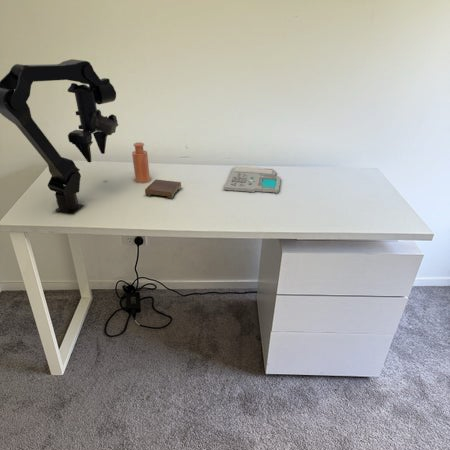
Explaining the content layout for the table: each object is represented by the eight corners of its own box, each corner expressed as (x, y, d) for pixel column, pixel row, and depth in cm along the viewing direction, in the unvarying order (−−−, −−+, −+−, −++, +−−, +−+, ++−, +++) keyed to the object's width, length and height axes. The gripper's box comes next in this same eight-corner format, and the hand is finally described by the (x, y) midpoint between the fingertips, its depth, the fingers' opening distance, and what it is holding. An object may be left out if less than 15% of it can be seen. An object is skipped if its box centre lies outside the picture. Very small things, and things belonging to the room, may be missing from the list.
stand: (172, 199, 135) (171, 192, 134) (145, 196, 137) (144, 189, 136) (181, 188, 143) (180, 182, 141) (156, 185, 145) (155, 179, 143)
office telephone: (233, 163, 159) (281, 166, 157) (233, 169, 160) (281, 173, 158) (224, 183, 141) (279, 187, 138) (224, 190, 142) (278, 194, 140)
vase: (150, 182, 147) (146, 145, 139) (135, 183, 146) (131, 146, 138) (149, 177, 152) (146, 141, 143) (135, 177, 151) (130, 142, 142)
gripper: (95, 115, 111) (105, 169, 121) (123, 102, 125) (130, 151, 135) (61, 113, 113) (73, 166, 123) (92, 100, 127) (101, 148, 137)
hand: (96, 157), depth 129 cm, fingers open, 9 cm apart
